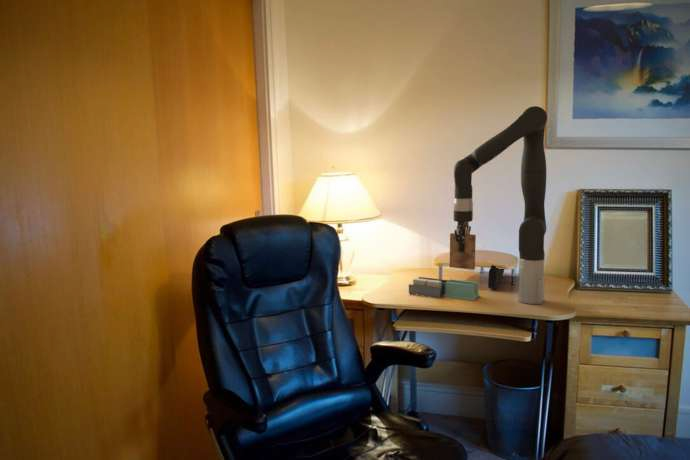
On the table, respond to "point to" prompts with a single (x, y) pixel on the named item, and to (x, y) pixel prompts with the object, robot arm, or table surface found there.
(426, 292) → the offcut rack
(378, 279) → the table surface
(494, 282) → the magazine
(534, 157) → the robot arm
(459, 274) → the table surface
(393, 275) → the table surface
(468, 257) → the walnut panel
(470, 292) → the green rectangular block
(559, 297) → the table surface
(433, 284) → the offcut
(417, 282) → the offcut
